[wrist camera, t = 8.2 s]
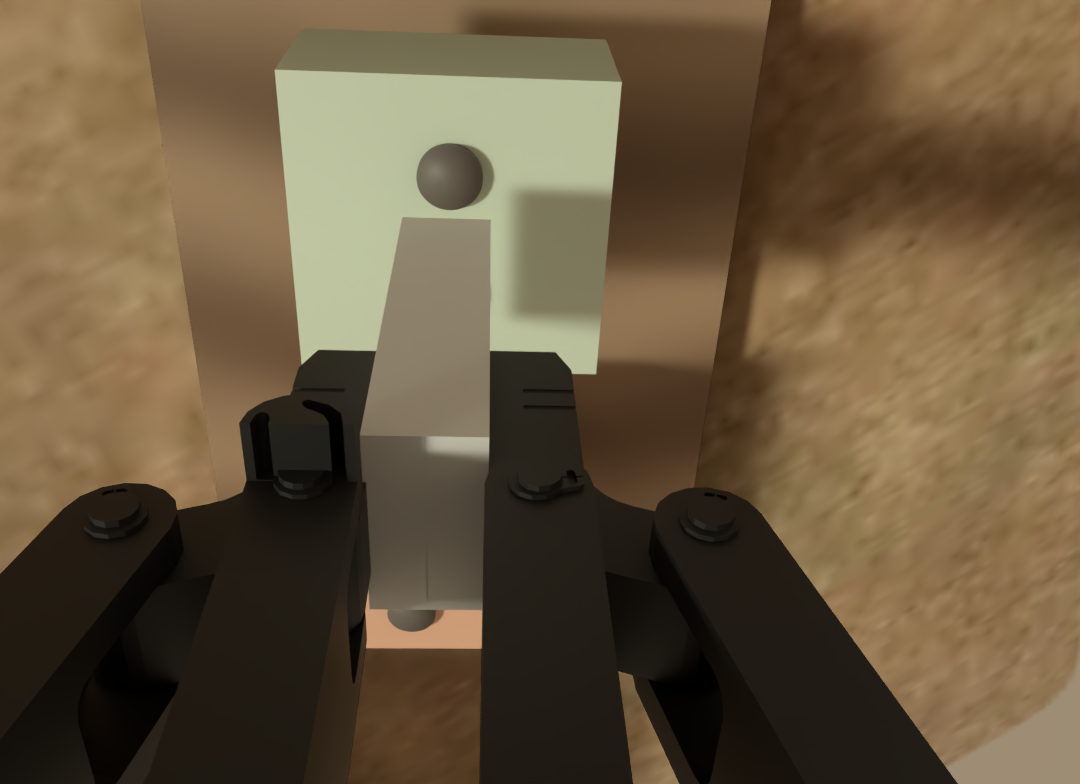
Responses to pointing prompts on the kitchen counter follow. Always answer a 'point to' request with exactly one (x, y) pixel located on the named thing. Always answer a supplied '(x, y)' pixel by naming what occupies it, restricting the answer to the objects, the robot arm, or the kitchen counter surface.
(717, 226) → the key board
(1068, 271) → the kitchen counter surface
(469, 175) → the tile two
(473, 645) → the tile three
